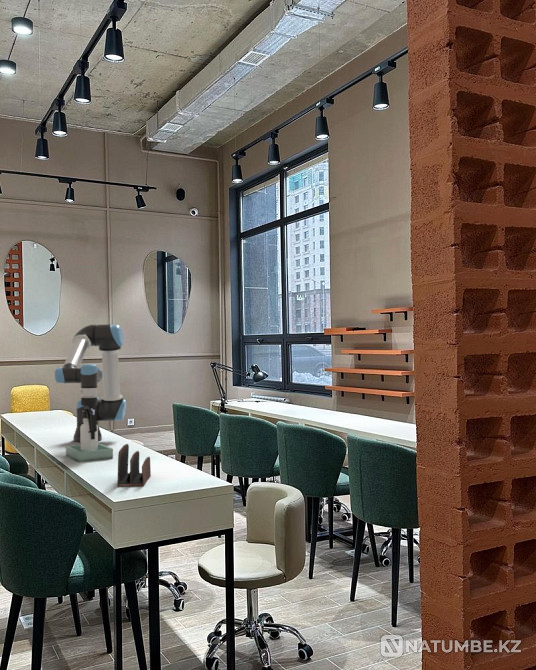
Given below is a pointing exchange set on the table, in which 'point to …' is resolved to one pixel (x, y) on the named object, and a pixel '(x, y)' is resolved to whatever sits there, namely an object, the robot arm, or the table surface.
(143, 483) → the letter holder
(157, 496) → the table surface
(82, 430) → the pill bottle
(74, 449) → the box
